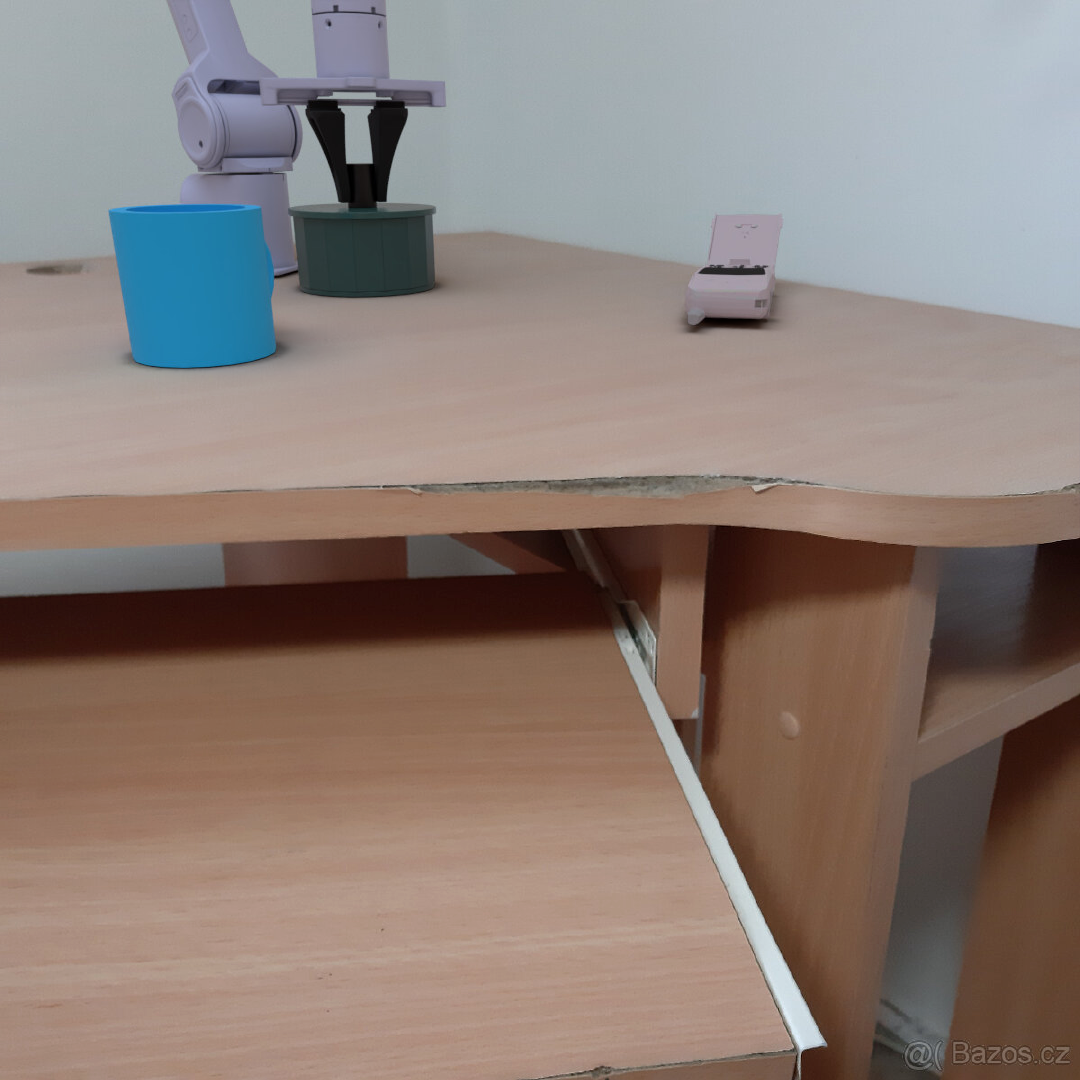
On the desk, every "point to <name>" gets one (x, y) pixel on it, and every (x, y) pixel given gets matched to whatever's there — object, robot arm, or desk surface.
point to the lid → (362, 201)
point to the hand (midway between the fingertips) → (362, 202)
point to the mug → (195, 283)
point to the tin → (365, 256)
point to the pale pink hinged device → (736, 269)
